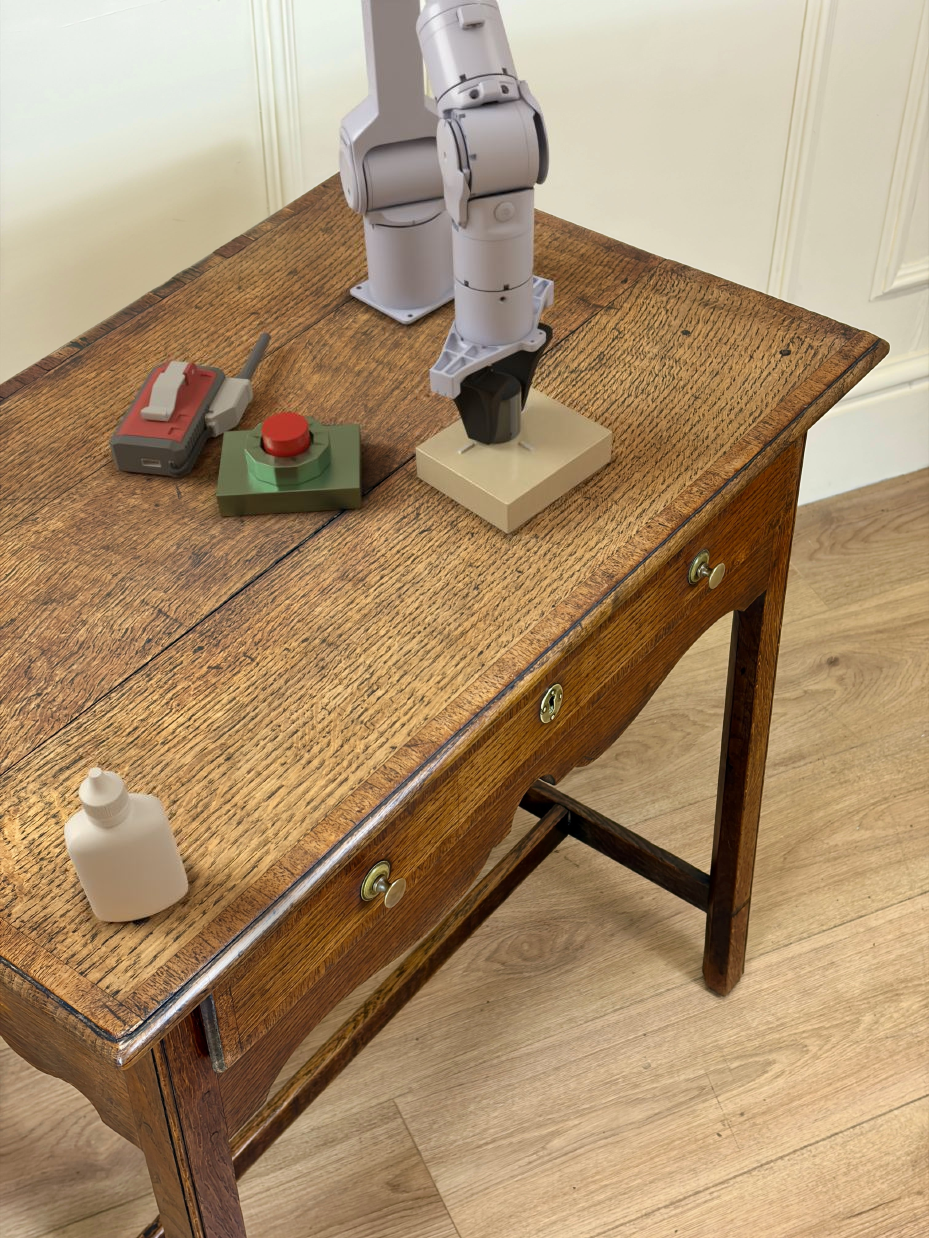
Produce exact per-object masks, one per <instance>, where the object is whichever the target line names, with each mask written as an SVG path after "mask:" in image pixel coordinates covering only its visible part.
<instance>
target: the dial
mask: <svg viewBox="0 0 929 1238" xmlns="http://www.w3.org/2000/svg"><path fill="white" fill-rule="evenodd" d="M496 373H499V374H502V375H505V376H508V377H510V378H511V380H510V381H509V383H508V385H507V386H506V388H505V391H504V393H503V396H502V399H501V402H500V407H499V412H498V423H497V431H496V435H495V438H494V441H493V442H492V443H493V444H498V443H505V442H508V441H510V440H512V439H514V438H515V437H517V436H518V434H519V433H520V431H521V383H520V381H519V380H518V379H517V378H516V377H515V376H513V375H511V374H508V373H504V372H496Z"/></svg>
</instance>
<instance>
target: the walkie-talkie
mask: <svg viewBox="0 0 929 1238" xmlns="http://www.w3.org/2000/svg"><path fill="white" fill-rule="evenodd" d="M271 336H272V335H271V334H270V333H268V332H262V333H260V334H259V337H258V339H257V340H256V342H255V344H254V346H253V348H252V350H251V352H250V354H249V355H248V357H247V360H246V361H245V364H244V365H243V367H242V369H241V371H240V373H238V374H237V376H236V377H227V376H226V373H225V372H224V370H222V369H220V368H218V367H216V366H208V365H207V366H206V365H198V364H196V363H195V362H192V361H191V362H190V361H178V360H168V361H167V362H162V363H159V364H157V365H155V366H153V367H152V368H151V370H150V371H149V373H148V375H147V376H146V377H145V380H144V381H143V383H142V385H141V386H140V388H139V390H138V392H137V393H136V394H135V397H134V399H133V400H132V403H130V404H129V407H128V409H127V411H126V412H125V414H124V415H123V416H122V419H121V420H120V423H118V426H117V427H115V431H113V433H112V435H111V436H110V439H109V440H108V444H109V448H110V451H111V456H112V458H113V462H114V465H115V466H116V468H117V469H118V471H122V472H131V473H140V474H150V475H158V476H159V475H160V476H168V477H169V476H170V477H171V478H174V479H180V478H184V477H186V475H188V474H190V473H191V470H193V467H194V465H195V464H196V462H197V460H198V458H199V456H200V453H202V449H203V448H204V445H206V442H207V441H208V439H210V438H212V437H213V438H216V437H218V436H220V435H222V434H224V432H226V431H231V430H232V429H233V428H236V427H237V426H238V425H239V423H240V421H241V419H242V417H243V415H244V413H245V410H246V409H247V408H248V406H249V404H250V403H251V402H252V400H253V398H254V392H253V388H252V387H253V386H252V378H253V376H254V375H255V372H256V370H257V369H258V366H259V365H260V362H261V361H262V359H263V356H264V353H265V351H266V349H267V348H268V346H269V344H270V343H271V342H270V341H271V339H272V337H271Z"/></svg>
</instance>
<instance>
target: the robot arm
mask: <svg viewBox="0 0 929 1238" xmlns="http://www.w3.org/2000/svg"><path fill="white" fill-rule="evenodd" d="M424 2H425V5H424V6H423V8H422V10H421V0H360V5H361V17H362V28H363V29H362V30H363V31H362V32H363V39H364V40H363V41H364V42H363V43H364V53H365V55H364V56H365V68H366V78H367V89H368V94H367V96H366V97H365V98H364V99H362V101H361V102H359V103H358V104H357V105H356V106H355V107H354V108H352V109H351V110H350V111H349V112H348V113H347V114H346V115H345V116H343V117H342V119H341V120H340V127H339V128H338V133H339V148H338V169H339V175H340V181H341V185H342V190H343V194H344V197H345V200H346V203H347V205H348V207H349V208H350V210H352V211H353V212H354V213H355V214H357V215H359V216H360V215H361V216H362V221H363V232H364V243H365V254H366V265H367V275H368V279H366V280H364V281H362V282H361V283H359V284H357V285H356V286H353V287H351V288H350V290H349V294H350V296H352V297H354V298H356V299H358V300H359V301H361V302H363V303H365V304H367V305H368V306H370V307H372V308H374V309H376V310H377V311H379V312H381V313H383V314H385V315H386V316H389V317H390V318H392V319H393V320H396V321H397V322H399V323H401V324H403V325H410V324H412V323H414V322H415V321H417V320H419V319H421V318H422V317H424V316H427V315H428V314H429V313H431V312H433V311H435V310H437V309H438V308H440V307H442V306H443V305H445V304H448V303H449V302H450V301H452V300H454V319H453V321H452V324H451V326H450V329H449V332H448V334H447V337H446V340H445V342H444V343H443V347H442V348H441V349H442V350H441V352H440V355H439V357H438V359H437V360H436V362H435V363H434V364H433V365H432V366H431V368H430V369H429V383H430V384H429V385H430V392H432V393H435V394H437V395H440V396H443V397H445V398H448V399H451V400H452V401H453V402H454V404H455V406H456V409H457V412H458V413H459V416H460V419H462V422H463V425H464V427H465V430H466V433H467V436H468V438H470V439H472V440H475V441H478V442H480V443H483V444H486V445H490V444H491V443H492V442H493V441H494V438H495V435H496V431H497V423H498V412H499V407H500V402H501V399H502V396H503V393H504V391H505V388H506V386H507V385H508V383H509V381H510V380H511V378H510V377H508V376H505V375H502V374H499V373H496V372H504V373H508V374H511V375H513V376H515V377H516V378H517V379H518V380H519V381H520V383H521V412H522V411H523V409H524V407H525V404H526V401H527V397H528V394H529V390H530V387H532V383H533V379H534V376H535V373H536V370H537V367H538V365H539V363H540V362H541V361H540V360H541V358H542V356H543V355H544V352H545V351H546V349H547V347H548V346H549V344H550V343H551V341H552V340H553V336H554V331H553V327H551V326H550V325H549V324H547V323H543V322H540V319H541V318H542V317H541V316H542V313H543V310H544V309H548V308H550V307H551V306H552V305H553V304H554V297H555V296H554V294H555V282H554V280H551V279H547V278H544V277H542V276H537V275H534V261H535V260H534V258H535V257H534V252H535V251H534V249H535V247H534V246H535V244H534V243H535V185H536V184H537V185H543V184H544V183H545V182H546V180H547V179H548V174H549V168H550V145H549V137H548V136H549V135H548V130H547V126H546V123H545V122H546V121H545V117H544V114H543V110H542V109H541V106H540V104H539V102H538V100H537V98H536V97H535V96H534V95H533V94H532V92H531V90H530V86H529V83H528V82H527V80H526V79H522V80H521V79H519V77H518V74H517V70H516V65H515V62H514V59H513V54H512V50H511V47H510V44H509V40H508V35H507V32H506V28H505V25H504V22H503V21H504V20H503V18H502V14H501V11H500V6H499V3H498V2H497V0H424ZM424 66H425V69H426V73H427V77H428V81H429V85H430V87H431V93H432V96H433V97H430V96H429V95H427V94H426V90H425V72H424Z"/></svg>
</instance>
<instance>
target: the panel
mask: <svg viewBox="0 0 929 1238" xmlns="http://www.w3.org/2000/svg"><path fill="white" fill-rule="evenodd" d="M612 444H613V430H610V429H609V428H607V427H605V426H603V425H602V424H601V423H598V422H597V421H595V420H593V419H590V418H589V417H587V416H585V415H583V414H581V413H580V412H578V411H576V410H574V409H572V408H570V407H569V406H567V405H565V404H563V403H562V402H560V401H557V400H556V399H555V398H552V397H551V396H548V395H547V394H544V393H543V392H541V391H539V390H537V389H536V388H534V387H532V386H530V390H529V394H528V397H527V401H526V404H525V407H524V409H523V411H522V412H521V431H520V433H519V434H518V436H517V437H515V438H514V439H512V440H510V441H508V442H505V443H498V444H493V443H491V444H490V445H486V444H483V443H480V442H478V441H475V440H472V439H470V438H468V436H467V433H466V430H465V427H464V425H463V422H462V419H461V418H459V419H458V420H456V421H455V422H453V423H451V424H450V425H448V426H447V427H446V428H444V429H442V430H441V431H439V432H438V433H435V434H434V435H433V436H431V437H430V438H428V439H426V440H424V441H423V442H421V443H420V444H418V445H417V446H416V447H415V449H414V450H415V462H416V464H415V465H416V476H417V478H418V479H420V480H421V481H423V482H424V483H426V484H428V485H430V486H431V487H432V488H434V489H436V490H437V491H439V492H440V493H442V494H444V495H445V496H447V497H448V498H450V499H452V500H453V501H455V502H456V503H458V504H460V505H461V506H462V507H464V508H466V509H467V510H469V511H470V512H472V513H473V514H475V515H477V516H478V517H480V518H481V519H483V520H484V521H486V522H488V523H489V524H491V525H493V526H494V527H495V528H498V529H499V530H500V531H502V532H504V533H505V534H507V535H509V534H510V533H512V532H513V531H515V530H516V529H518V528H520V526H522V525H523V524H525V523H526V522H527V521H528V520H530V519H531V518H533V517H534V516H536V515H538V513H540V512H541V511H543V510H545V508H547V507H548V506H550V505H552V504H553V503H554V502H555V501H557V500H559V498H561V497H562V496H564V495H565V494H566V493H568V492H570V491H571V490H572V489H574V488H575V487H576V486H577V485H580V483H581V482H583V481H585V480H586V479H588V478H589V477H590V476H592V475H593V474H595V473H596V472H598V471H599V470H600V469H602V468H604V466H605V465H607V464H608V463H610V462H611V458H612Z"/></svg>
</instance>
